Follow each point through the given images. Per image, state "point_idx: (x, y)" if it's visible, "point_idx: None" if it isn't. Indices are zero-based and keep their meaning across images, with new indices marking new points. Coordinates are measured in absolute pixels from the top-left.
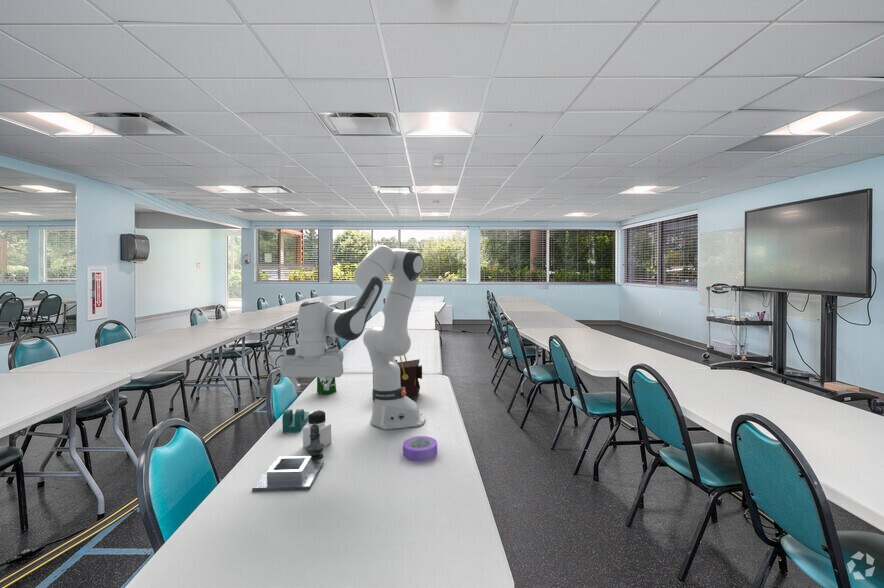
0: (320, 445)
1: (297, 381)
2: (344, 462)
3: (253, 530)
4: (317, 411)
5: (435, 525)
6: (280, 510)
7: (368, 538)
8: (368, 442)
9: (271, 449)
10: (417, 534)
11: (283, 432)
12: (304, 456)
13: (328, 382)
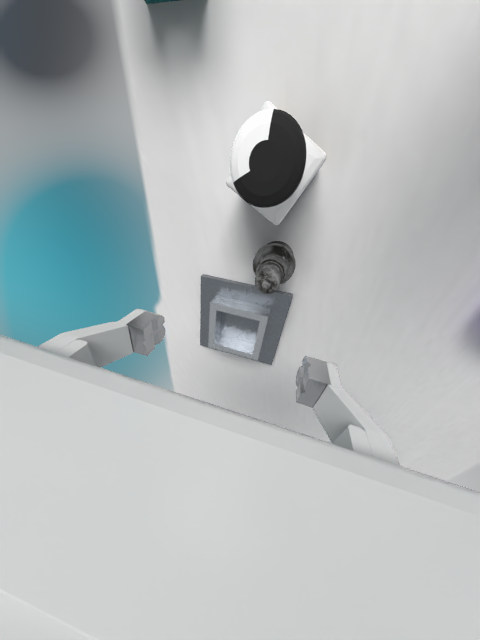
0: (285, 272)
1: (103, 331)
2: (334, 299)
3: (228, 399)
4: (268, 151)
5: (400, 455)
6: (244, 384)
7: (327, 441)
8: (441, 187)
9: (171, 187)
10: None
11: (149, 2)
12: (255, 314)
13: (333, 436)
